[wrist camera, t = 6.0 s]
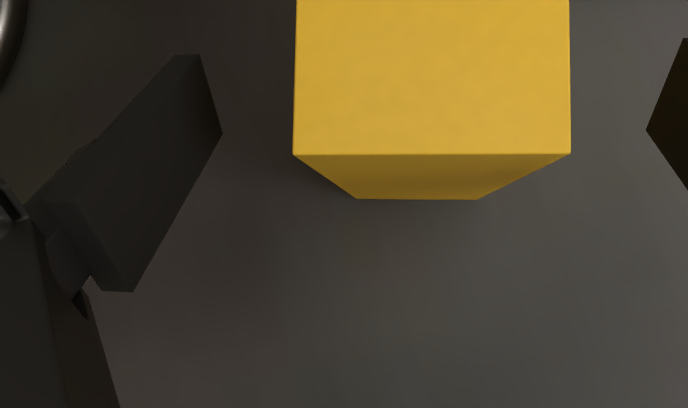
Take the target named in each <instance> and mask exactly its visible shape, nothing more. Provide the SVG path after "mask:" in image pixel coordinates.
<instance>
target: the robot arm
mask: <svg viewBox="0 0 688 408" xmlns="http://www.w3.org/2000/svg"><path fill="white" fill-rule="evenodd" d="M27 7H28V0H0V87H1V85H2V83H3V82H4V80H5V78H6V77H7V75H8V73H9V71H10V69H11V67H12V65H13V63H14V61H15V58H16V55H17V53H18V50H19V48H20V44H21V41H22V37H23V34H24V29H25V24H26V17H27ZM646 131H647V133H648V134H649V136H650V137H651V138H652V140H653V141H654V143H655V144H656V146H657V147H658V148H659V150H660V151H661V153H662V154H663V156H664V157H665V158H666V160H667V161H668V163H669V164H670V166H671V167H672V168H673V170H674V171H675V173H676V174H677V176H678V177H679V178H680V180H681V181H682V183H683V184H684V186H685V187H686V188H687V190H688V38H683V40H682V42H681V45H680V47H679V50H678V52H677V55H676V57H675V60H674V62H673V65H672V67H671V69H670V72H669V74H668V77H667V79H666V82H665V84H664V87H663V89H662V91H661V94H660V96H659V99H658V101H657V104H656V106H655V109H654V111H653V113H652V116H651V118H650V121H649V123H648V126H647V128H646ZM222 134H223V132H222V129H221V125H220V122H219V119H218V115H217V112H216V109H215V105H214V102H213V99H212V95H211V92H210V89H209V85H208V82H207V79H206V75H205V72H204V68H203V65H202V62H201V58H200V55H199V54H194V55H175V56H174V57H173V58H172V59H171V60H170V61H169V62H168V63H167V64H166V65H165V66H164V68H163V69H162V70H161V71H160V72H159V73H158V74H157V75H156V76H155V77H154V78H153V79H152V80H151V81H150V83H149V84H148V85H147V86H146V87H145V88H144V89H143V90H142V91H141V92H140V93H139V94H138V95H137V97H136V98H135V99H134V100H133V101H132V102H131V103H130V104H129V105H128V106H127V107H126V108H125V109H124V111H123V112H122V113H121V114H120V115H119V116H118V117H117V118H116V119H115V120H114V121H113V122H112V123H111V124H110V126H109V127H108V128H107V129H106V130H105V131H104V132H103V133H102V134H101V135H100V136H99V137H98V138H95V139H94V140H92V141H91V142H89V143H87V144H86V145H84V146H83V147H81V148H79V149H78V150H77V151H76V152H75V153H74V154H73V155H72V156H71V157H70V158H69V159H68V160H67V161H66V162H65V165H62V166H61V167H60V168H59V169H58V170H57V171H56V173H55V176H52V177H51V178H50V179H49V180H48V181H47V182H46V183H45V184H44V185H43V186H42V187H41V188H40V189H39V190H38V191H37V192H36V193H35V194H34V195H33V197H32V198H31V199H30V200H29V201H28V202H27V203H26V204H25V205H24V206H22V205H21V203H20V202H19V200H18V199H17V198H16V196H15V195H14V194H13V192H12V191H11V189H10V188H9V187H8V185H7V184H6V182H5V181H4V180H3V179H0V408H120V405H119V402H118V398H117V395H116V391H115V388H114V384H113V381H112V378H111V374H110V371H109V367H108V364H107V360H106V357H105V353H104V350H103V346H102V343H101V339H100V336H99V333H98V329H97V326H96V322H95V319H94V315H93V312H92V308H91V305H90V301H89V298H88V296H87V295H86V293H85V292H84V290H83V289H82V288H81V287H82V286H83V284H84V283H85V281H86V280H87V278H88V277H89V275H90V274H91V276H92V277H93V279H94V280H95V282H96V283H97V285H98V286H99V287H100V289H101V290H102V291H115V292H133V291H134V289H135V287H136V286H137V284H138V282H139V280H140V279H141V277H142V275H143V273H144V271H145V270H146V268H147V266H148V264H149V263H150V261H151V259H152V257H153V256H154V254H155V252H156V250H157V249H158V247H159V245H160V243H161V242H162V240H163V238H164V236H165V235H166V233H167V231H168V229H169V228H170V226H171V224H172V222H173V221H174V219H175V217H176V215H177V214H178V212H179V210H180V208H181V206H182V205H183V203H184V201H185V199H186V198H187V196H188V194H189V192H190V191H191V189H192V187H193V185H194V184H195V182H196V180H197V178H198V177H199V175H200V173H201V171H202V170H203V168H204V166H205V164H206V163H207V161H208V159H209V157H210V156H211V154H212V152H213V150H214V148H215V147H216V145H217V143H218V141H219V140H220V138H221V136H222Z"/></svg>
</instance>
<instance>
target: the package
mask: <svg viewBox="0 0 688 408" xmlns="http://www.w3.org/2000/svg"><path fill="white" fill-rule="evenodd" d="M292 153H293V155H294V156H295V157H297V158H298V159H300V160H301V161H303V162H304V163H305V164H307V165H308V166H310V167H311V168H313V169H314V170H316V171H317V172H318V173H320V174H321V175H323V176H324V177H326V178H327V179H329V180H330V181H332V182H333V183H334V184H336V185H337V186H339V187H340V188H342V189H343V190H345V191H346V192H347V193H349V194H350V195H352V196H353V197H355V198H356V199H429V200H477V199H479V198H481V197H483V196H485V195H487V194H489V193H491V192H493V191H495V190H497V189H499V188H501V187H503V186H506V185H508V184H510V183H512V182H514V181H516V180H518V179H520V178H522V177H524V176H526V175H528V174H530V173H532V172H534V171H536V170H538V169H540V168H542V167H544V166H546V165H548V164H550V163H552V162H554V161H556V160H558V159H560V158H562V157H564V156H566V155H568V154H570V153H571V121H570V36H569V0H296V35H295V73H294V110H293V147H292Z"/></svg>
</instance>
